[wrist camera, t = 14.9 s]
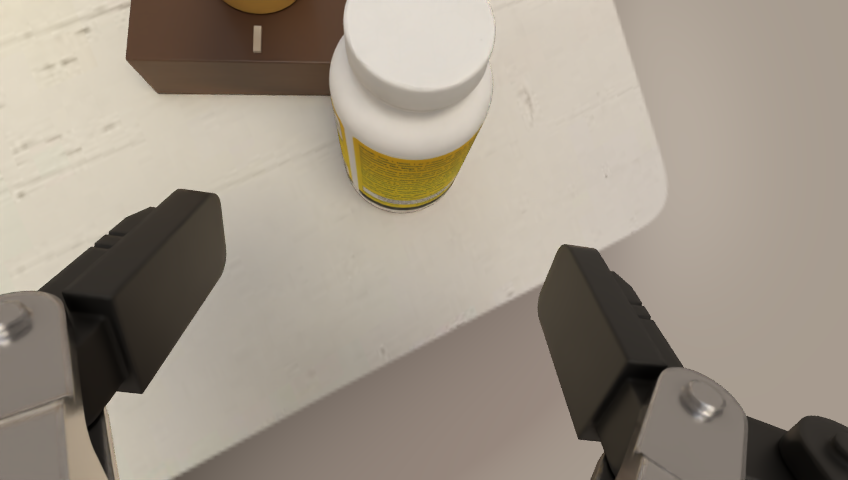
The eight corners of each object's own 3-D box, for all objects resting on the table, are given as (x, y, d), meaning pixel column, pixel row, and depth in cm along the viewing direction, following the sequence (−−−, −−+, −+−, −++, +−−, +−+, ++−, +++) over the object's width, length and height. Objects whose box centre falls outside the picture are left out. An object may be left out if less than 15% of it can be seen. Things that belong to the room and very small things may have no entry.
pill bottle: (477, 171, 24) (562, 43, 13) (393, 238, 22) (409, 156, 12) (408, 91, 24) (434, -97, 13) (321, 151, 23) (273, -3, 12)
